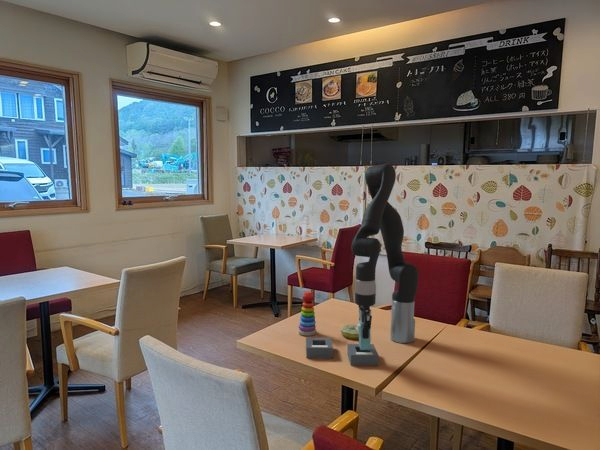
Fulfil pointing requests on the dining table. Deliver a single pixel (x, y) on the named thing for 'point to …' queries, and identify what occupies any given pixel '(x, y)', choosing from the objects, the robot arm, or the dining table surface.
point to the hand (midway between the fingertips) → (364, 335)
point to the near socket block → (362, 355)
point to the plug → (363, 343)
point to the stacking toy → (307, 315)
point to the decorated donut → (350, 332)
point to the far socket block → (319, 348)
